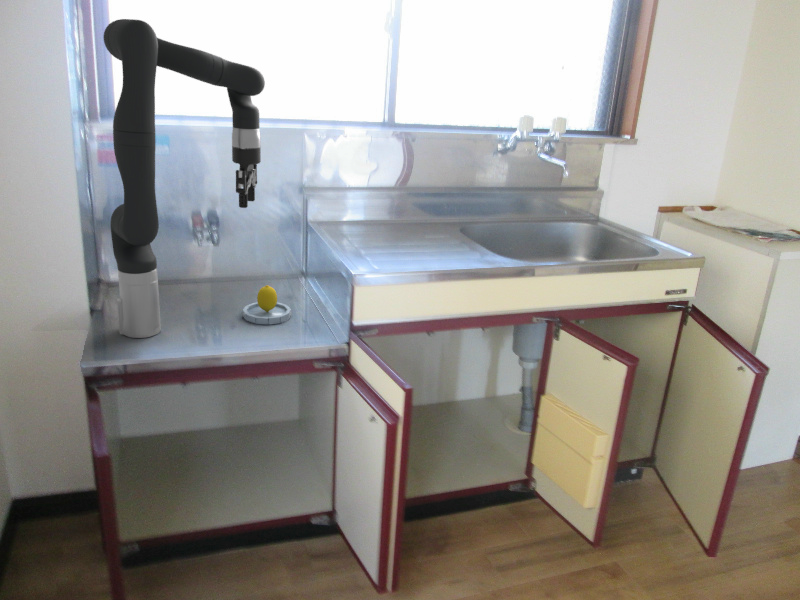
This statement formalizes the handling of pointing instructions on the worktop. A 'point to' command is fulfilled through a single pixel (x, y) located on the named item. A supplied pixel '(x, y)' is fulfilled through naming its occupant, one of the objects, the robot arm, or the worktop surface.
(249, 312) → the dish
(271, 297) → the lemon
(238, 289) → the worktop surface
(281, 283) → the worktop surface
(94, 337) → the worktop surface
